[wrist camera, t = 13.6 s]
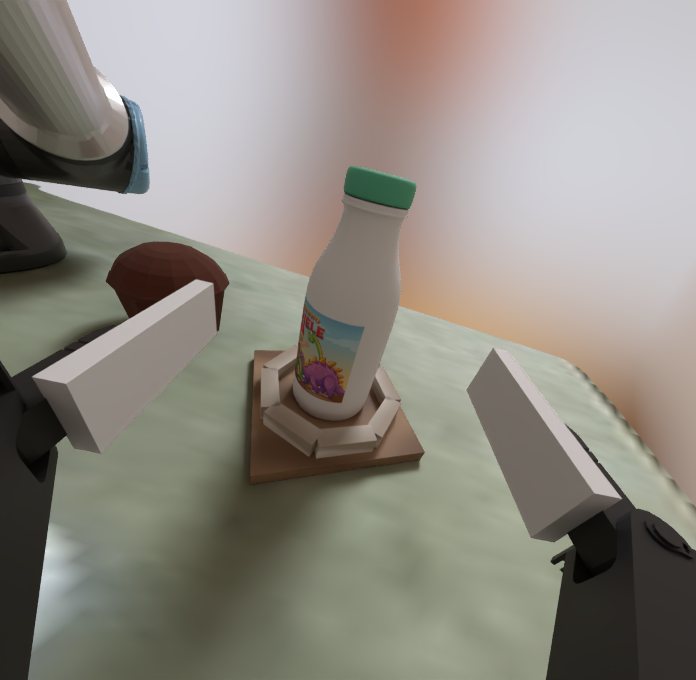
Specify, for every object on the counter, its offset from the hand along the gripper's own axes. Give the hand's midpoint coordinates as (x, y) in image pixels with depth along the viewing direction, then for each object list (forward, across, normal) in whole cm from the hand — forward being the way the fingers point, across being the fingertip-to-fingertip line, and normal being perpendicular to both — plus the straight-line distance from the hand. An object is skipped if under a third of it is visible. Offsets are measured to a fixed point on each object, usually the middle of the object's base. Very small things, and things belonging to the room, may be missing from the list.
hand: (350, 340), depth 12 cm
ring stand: (+9, 0, -14) cm, 17 cm away
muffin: (+17, -20, -14) cm, 30 cm away
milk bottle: (+10, 0, -13) cm, 16 cm away
